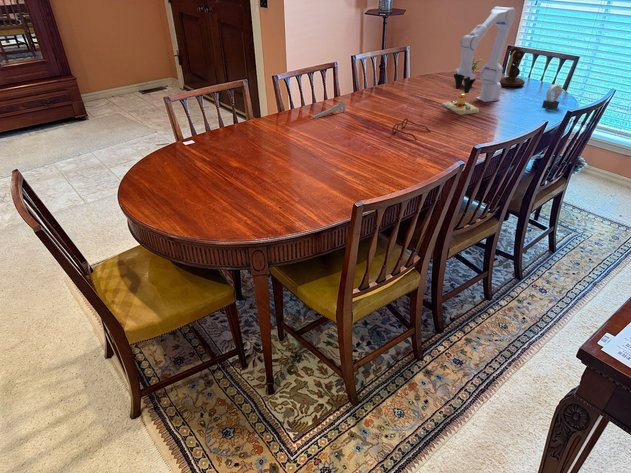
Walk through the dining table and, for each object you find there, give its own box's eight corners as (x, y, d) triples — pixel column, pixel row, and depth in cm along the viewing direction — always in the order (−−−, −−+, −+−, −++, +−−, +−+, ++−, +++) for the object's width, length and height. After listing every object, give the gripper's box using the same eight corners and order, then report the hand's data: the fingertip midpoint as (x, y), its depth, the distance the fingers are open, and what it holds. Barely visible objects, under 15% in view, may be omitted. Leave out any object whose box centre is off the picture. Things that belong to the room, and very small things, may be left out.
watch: (560, 107, 218) (566, 84, 211) (549, 110, 215) (555, 87, 208) (550, 104, 222) (556, 82, 216) (539, 107, 219) (545, 85, 213)
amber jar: (461, 106, 224) (463, 92, 220) (466, 109, 220) (469, 94, 216) (453, 107, 223) (455, 93, 219) (458, 110, 219) (460, 95, 215)
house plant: (484, 88, 249) (490, 58, 240) (460, 89, 250) (464, 59, 241) (477, 82, 261) (482, 53, 252) (454, 83, 262) (458, 54, 253)
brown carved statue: (494, 82, 261) (501, 46, 249) (520, 82, 259) (528, 46, 247) (499, 88, 248) (506, 51, 237) (526, 88, 246) (535, 51, 235)
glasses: (405, 127, 204) (406, 116, 201) (430, 132, 197) (432, 121, 194) (390, 135, 195) (391, 124, 193) (417, 141, 188) (418, 130, 186)
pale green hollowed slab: (459, 102, 230) (460, 97, 228) (478, 112, 215) (479, 107, 214) (442, 104, 228) (442, 99, 226) (460, 115, 213) (461, 109, 212)
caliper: (344, 112, 225) (344, 99, 222) (345, 112, 224) (345, 100, 221) (309, 119, 217) (309, 107, 214) (311, 120, 216) (310, 107, 213)
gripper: (451, 60, 214) (447, 88, 222) (467, 66, 203) (462, 95, 210) (464, 58, 216) (460, 86, 223) (480, 64, 204) (475, 94, 211)
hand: (462, 90), depth 217 cm, fingers open, 7 cm apart
